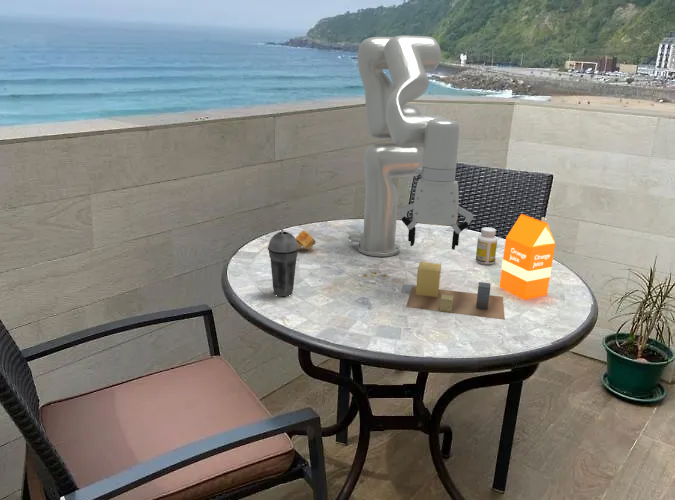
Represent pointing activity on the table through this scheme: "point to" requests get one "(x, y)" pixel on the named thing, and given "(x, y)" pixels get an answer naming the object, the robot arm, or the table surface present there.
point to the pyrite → (305, 240)
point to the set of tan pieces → (373, 275)
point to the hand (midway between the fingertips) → (432, 246)
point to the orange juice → (527, 258)
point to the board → (458, 303)
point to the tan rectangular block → (428, 279)
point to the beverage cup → (283, 261)
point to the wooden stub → (446, 303)
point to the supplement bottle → (486, 246)
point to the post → (483, 295)
